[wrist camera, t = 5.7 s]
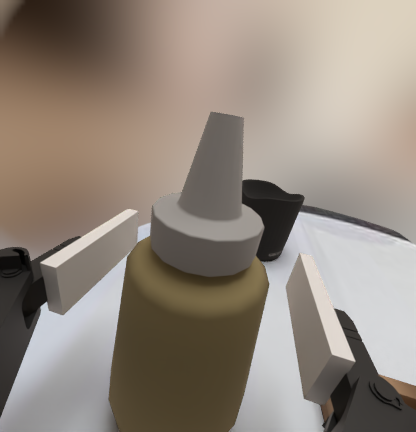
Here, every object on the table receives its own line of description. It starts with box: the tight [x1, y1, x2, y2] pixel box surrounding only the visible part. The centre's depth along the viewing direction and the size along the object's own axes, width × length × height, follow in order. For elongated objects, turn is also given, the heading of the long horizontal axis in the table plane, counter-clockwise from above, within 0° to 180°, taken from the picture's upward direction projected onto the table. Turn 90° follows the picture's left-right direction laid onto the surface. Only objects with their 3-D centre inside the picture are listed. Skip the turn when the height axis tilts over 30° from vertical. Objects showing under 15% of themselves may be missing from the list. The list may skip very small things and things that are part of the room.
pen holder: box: [242, 180, 304, 261], centre depth 34 cm, size 9×9×10 cm
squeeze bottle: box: [109, 112, 269, 432], centre depth 11 cm, size 8×8×18 cm
